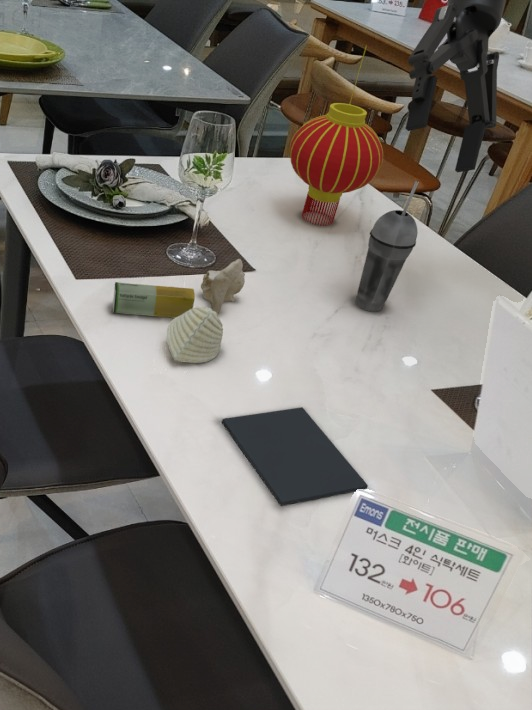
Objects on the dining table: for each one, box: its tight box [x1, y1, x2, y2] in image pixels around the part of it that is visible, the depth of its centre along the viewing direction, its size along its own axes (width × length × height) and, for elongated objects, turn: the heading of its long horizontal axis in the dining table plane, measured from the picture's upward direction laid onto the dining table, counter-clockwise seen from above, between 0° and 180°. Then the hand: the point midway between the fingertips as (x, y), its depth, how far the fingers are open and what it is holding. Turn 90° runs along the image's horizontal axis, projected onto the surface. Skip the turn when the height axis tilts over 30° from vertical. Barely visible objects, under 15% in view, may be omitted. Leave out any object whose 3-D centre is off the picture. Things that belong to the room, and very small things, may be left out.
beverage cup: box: [355, 180, 420, 313], centre depth 120 cm, size 7×7×20 cm
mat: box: [221, 406, 369, 507], centre depth 95 cm, size 16×12×1 cm
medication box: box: [111, 281, 196, 319], centre depth 114 cm, size 12×3×4 cm, turn 92°
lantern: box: [288, 45, 384, 227], centre depth 140 cm, size 17×17×30 cm
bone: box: [200, 258, 246, 315], centre depth 118 cm, size 9×6×10 cm
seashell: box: [166, 306, 224, 364], centre depth 108 cm, size 8×8×8 cm
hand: (441, 150), depth 107 cm, fingers open, 13 cm apart
